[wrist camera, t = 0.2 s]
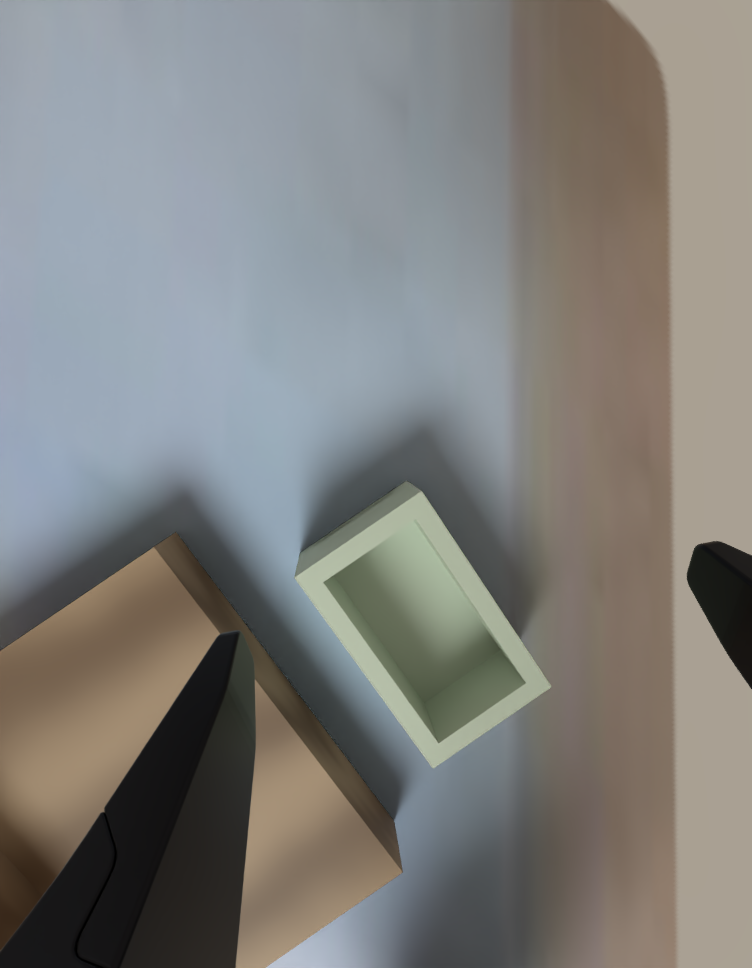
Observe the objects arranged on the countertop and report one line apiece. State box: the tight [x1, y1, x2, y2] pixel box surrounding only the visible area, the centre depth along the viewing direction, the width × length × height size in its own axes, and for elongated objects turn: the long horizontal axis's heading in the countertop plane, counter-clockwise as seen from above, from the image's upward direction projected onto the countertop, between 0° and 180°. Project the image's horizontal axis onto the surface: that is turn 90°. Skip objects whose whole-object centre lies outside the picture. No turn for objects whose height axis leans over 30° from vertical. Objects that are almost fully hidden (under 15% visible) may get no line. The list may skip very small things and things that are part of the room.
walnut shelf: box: [0, 532, 403, 968], centre depth 22 cm, size 18×14×6 cm
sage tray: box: [294, 481, 551, 768], centre depth 23 cm, size 10×6×4 cm, turn 34°
